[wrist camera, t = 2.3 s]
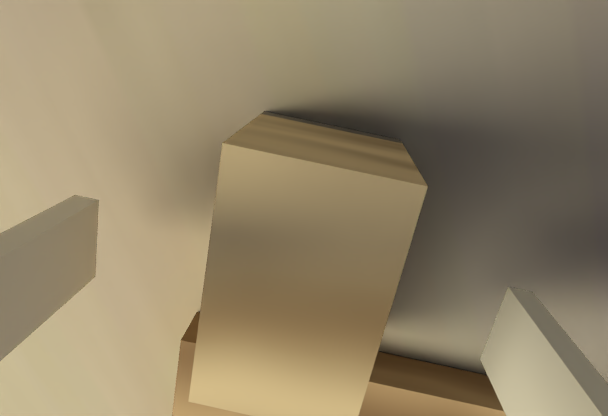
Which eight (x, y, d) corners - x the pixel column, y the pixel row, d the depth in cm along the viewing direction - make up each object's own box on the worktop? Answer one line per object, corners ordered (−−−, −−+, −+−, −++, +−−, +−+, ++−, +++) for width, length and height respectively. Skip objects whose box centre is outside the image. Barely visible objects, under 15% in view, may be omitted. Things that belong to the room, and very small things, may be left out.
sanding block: (265, 111, 16) (222, 142, 11) (399, 139, 16) (428, 186, 11) (234, 297, 19) (188, 401, 13) (350, 322, 19) (351, 438, 13)
